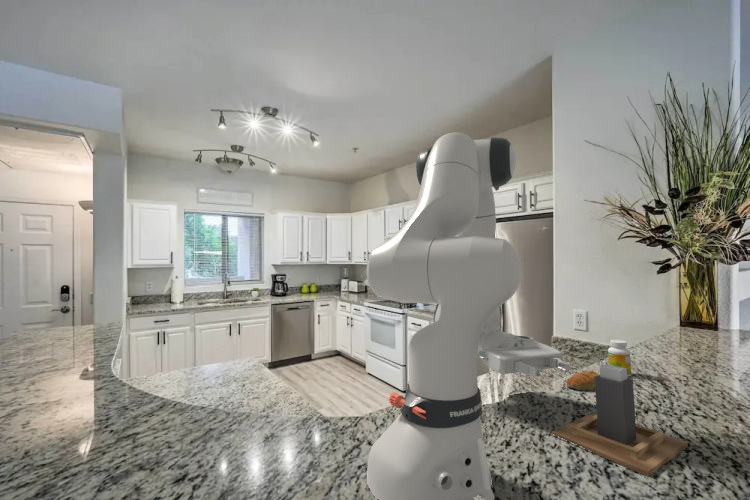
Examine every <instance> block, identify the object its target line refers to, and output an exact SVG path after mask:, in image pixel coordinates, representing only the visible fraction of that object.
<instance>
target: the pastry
mask: <svg viewBox="0 0 750 500" xmlns="http://www.w3.org/2000/svg"><path fill="white" fill-rule="evenodd" d="M598 375H600V373H598V372H597V371H593V370H590V371H589V370H585V371H582V372H581V371H580V372H576V373H574V374H573V375H572V376H570V377H569V378H568V379H567V380H566V386H567V387H568V388H571V389H574V390H577V391H593V390H595V376H598Z"/></svg>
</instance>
